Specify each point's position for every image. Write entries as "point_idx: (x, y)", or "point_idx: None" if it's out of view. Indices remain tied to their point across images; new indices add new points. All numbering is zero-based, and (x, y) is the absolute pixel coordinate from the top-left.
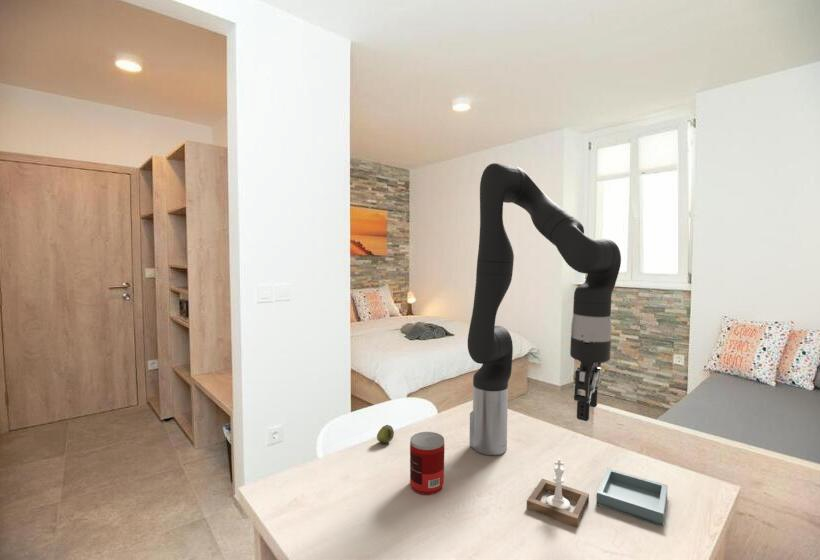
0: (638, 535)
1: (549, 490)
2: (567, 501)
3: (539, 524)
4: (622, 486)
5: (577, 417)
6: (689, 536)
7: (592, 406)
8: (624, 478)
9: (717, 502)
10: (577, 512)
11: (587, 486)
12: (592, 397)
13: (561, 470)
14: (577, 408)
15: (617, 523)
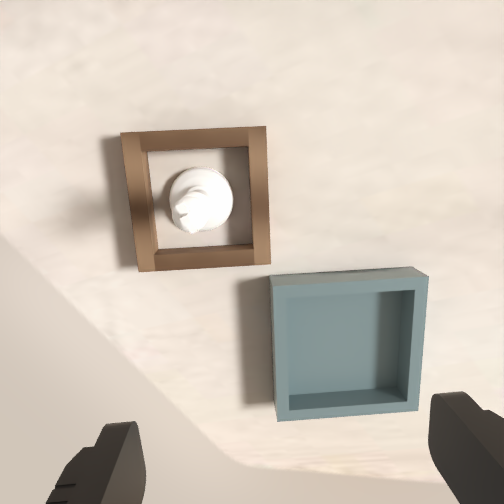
0: (209, 370)
1: (248, 157)
2: (214, 222)
3: (89, 188)
4: (383, 311)
5: (105, 429)
6: (272, 440)
7: (429, 433)
8: (407, 318)
9: (436, 467)
10: (164, 264)
11: (341, 235)
12: (477, 498)
13: (180, 226)
14: (73, 494)
15: (223, 330)
